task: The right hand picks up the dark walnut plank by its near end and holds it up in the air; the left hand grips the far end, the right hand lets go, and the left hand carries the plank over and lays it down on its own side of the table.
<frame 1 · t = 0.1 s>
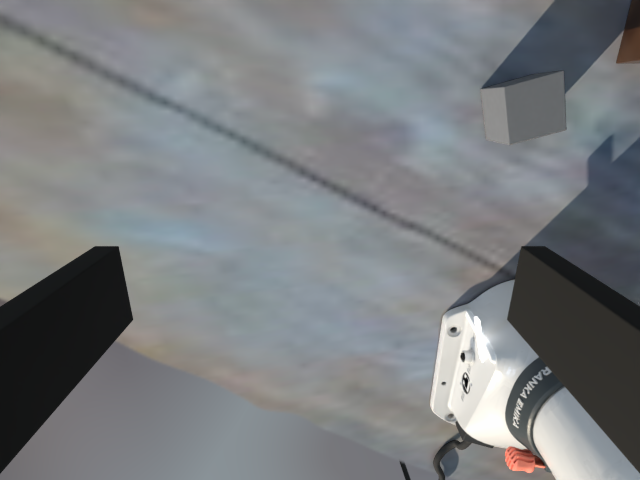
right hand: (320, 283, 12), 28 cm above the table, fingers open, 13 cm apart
grey rubber block: (508, 108, 37), on the table
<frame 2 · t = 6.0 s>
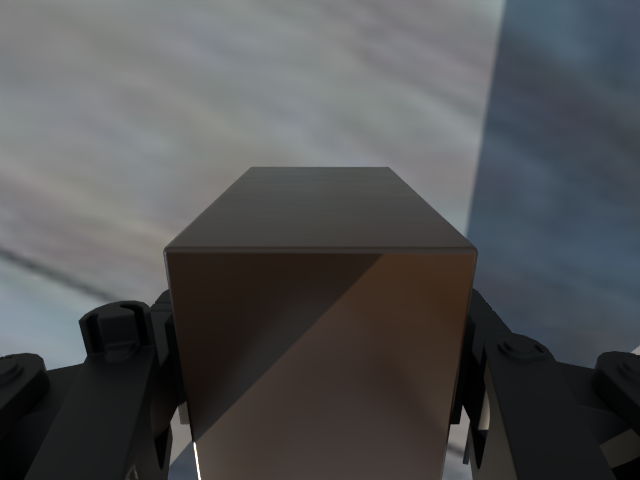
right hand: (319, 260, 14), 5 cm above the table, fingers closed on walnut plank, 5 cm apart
walnut plank: (319, 424, 17), point 5 cm above the table, touching right hand
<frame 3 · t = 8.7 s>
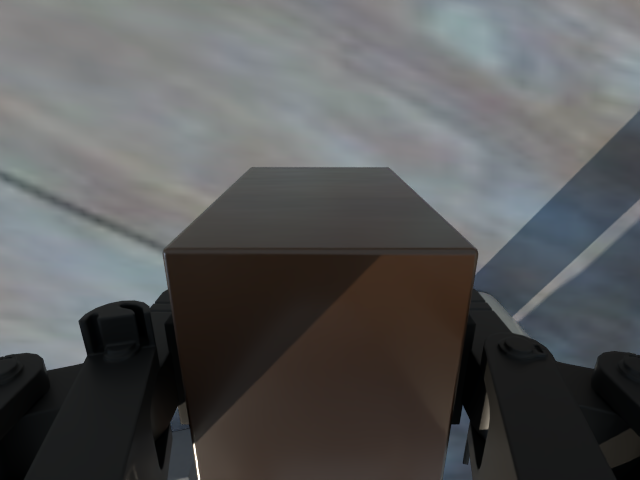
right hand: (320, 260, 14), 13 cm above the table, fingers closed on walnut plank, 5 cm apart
walnut plank: (319, 425, 17), point 12 cm above the table, touching right hand
grey rubber block: (191, 449, 35), on the table
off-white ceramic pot: (470, 319, 30), on the table
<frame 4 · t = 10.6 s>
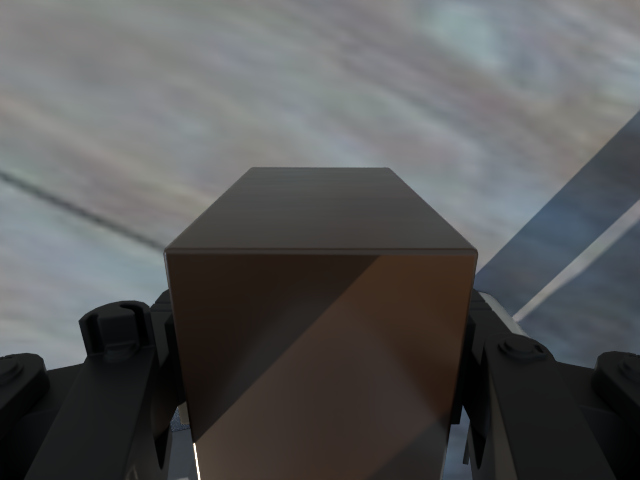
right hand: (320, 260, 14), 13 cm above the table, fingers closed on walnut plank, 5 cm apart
walnut plank: (319, 425, 17), point 12 cm above the table, touching right hand, left hand
grey rubber block: (190, 450, 35), on the table
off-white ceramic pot: (470, 319, 30), on the table
when the right hand's fingers open (13 cm above the table, at t = 11.7 s): walnut plank stays where it is, held by the left hand.
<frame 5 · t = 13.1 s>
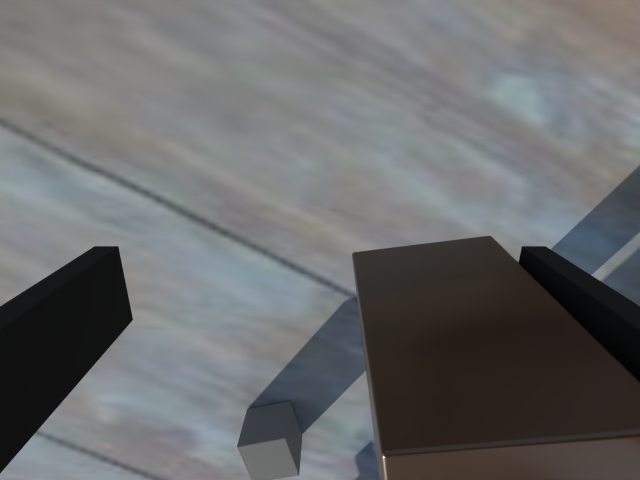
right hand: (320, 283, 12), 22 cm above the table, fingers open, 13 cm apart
walnut plank: (429, 464, 18), point 19 cm above the table, touching left hand
grey rubber block: (275, 421, 42), on the table
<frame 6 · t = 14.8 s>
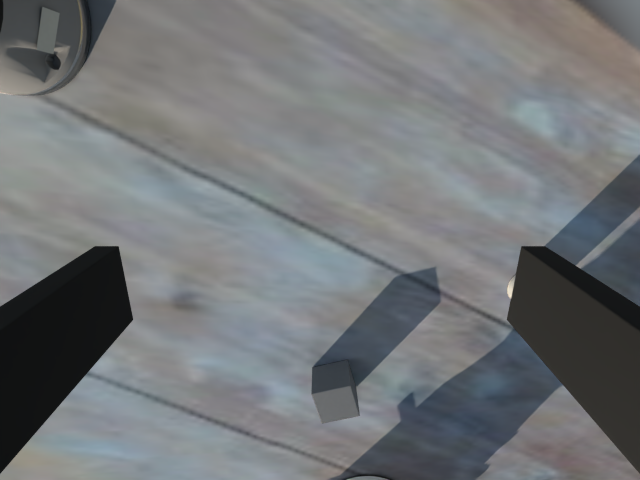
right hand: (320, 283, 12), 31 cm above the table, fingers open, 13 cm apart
grey rubber block: (334, 377, 52), on the table
when the left hand's fingers open (5 cm above the table, at t = 19.0 s): walnut plank drops 1 cm, on the table.
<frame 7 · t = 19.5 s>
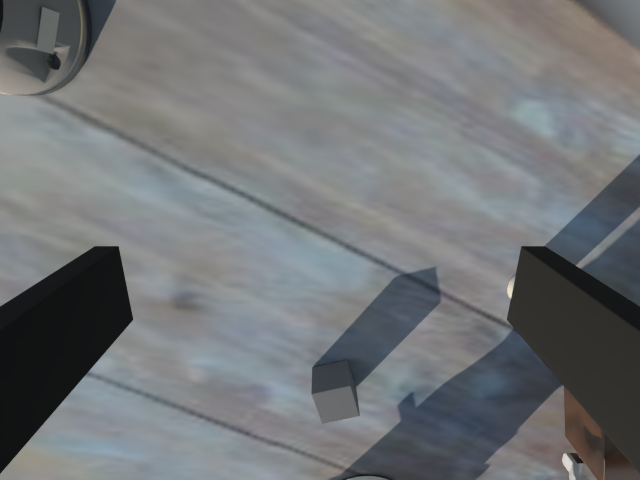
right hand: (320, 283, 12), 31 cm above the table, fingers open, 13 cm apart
walnut plank: (582, 368, 51), on the table
grey rubber block: (334, 377, 52), on the table
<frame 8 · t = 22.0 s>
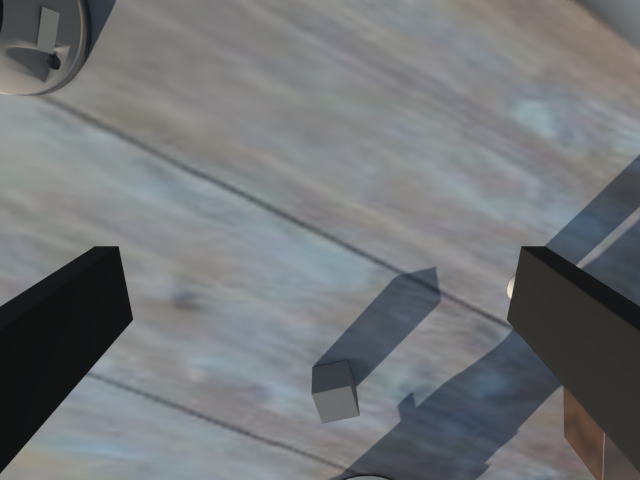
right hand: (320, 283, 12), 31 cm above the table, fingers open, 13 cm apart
walnut plank: (581, 368, 51), on the table
grey rubber block: (334, 377, 52), on the table
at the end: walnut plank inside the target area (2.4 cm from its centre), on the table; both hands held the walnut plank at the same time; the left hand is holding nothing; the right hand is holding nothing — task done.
